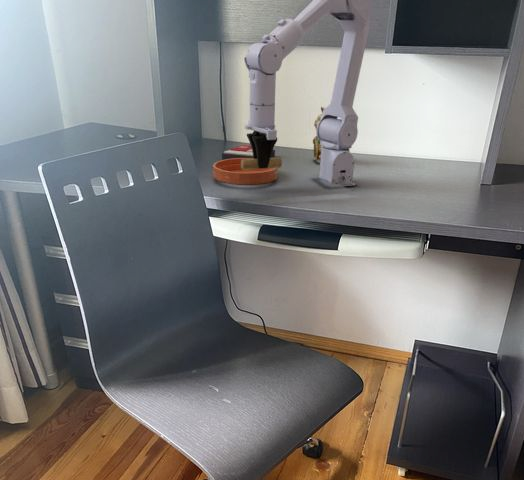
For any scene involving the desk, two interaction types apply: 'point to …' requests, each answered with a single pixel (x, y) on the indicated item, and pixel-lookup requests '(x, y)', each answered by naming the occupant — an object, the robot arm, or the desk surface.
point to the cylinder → (253, 164)
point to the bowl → (242, 173)
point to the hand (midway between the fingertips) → (261, 166)
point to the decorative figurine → (317, 140)
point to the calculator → (241, 152)
